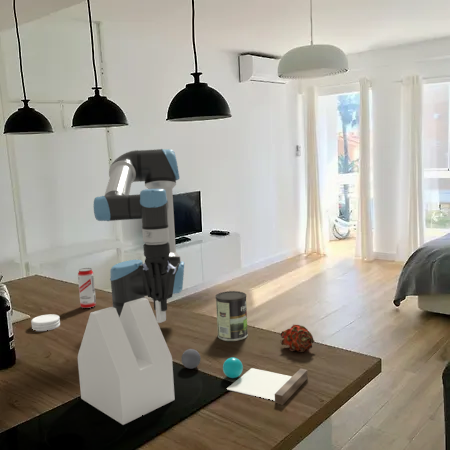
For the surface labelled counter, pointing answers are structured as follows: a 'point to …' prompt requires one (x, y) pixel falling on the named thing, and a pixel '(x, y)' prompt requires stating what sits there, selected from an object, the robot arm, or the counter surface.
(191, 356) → the gray ball
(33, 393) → the counter surface
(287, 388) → the stopper wall
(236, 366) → the teal ball
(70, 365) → the counter surface
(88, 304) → the beer can
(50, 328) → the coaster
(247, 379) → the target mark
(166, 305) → the robot arm
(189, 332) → the counter surface
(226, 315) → the coffee can
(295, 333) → the dragon fruit
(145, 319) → the white v-notch block
